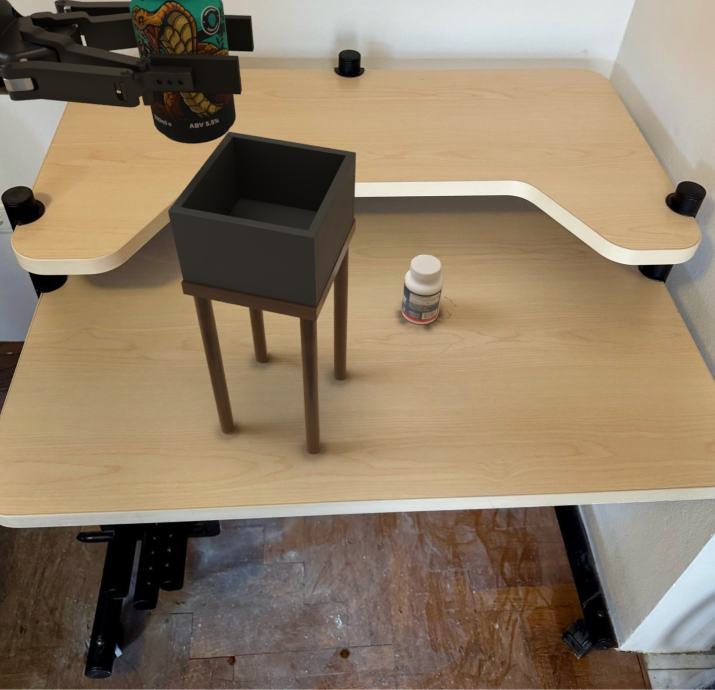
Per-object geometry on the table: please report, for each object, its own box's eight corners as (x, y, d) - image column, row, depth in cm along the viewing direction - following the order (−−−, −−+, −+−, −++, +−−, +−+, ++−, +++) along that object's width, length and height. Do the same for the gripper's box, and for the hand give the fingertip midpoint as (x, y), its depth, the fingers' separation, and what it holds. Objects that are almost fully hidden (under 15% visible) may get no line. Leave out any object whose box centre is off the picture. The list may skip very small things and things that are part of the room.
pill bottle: (406, 295, 96) (411, 247, 90) (441, 303, 95) (449, 255, 89) (397, 320, 93) (402, 272, 86) (434, 329, 92) (441, 280, 85)
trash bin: (316, 307, 60) (314, 237, 54) (182, 280, 62) (167, 210, 56) (354, 219, 69) (356, 152, 63) (236, 198, 70) (228, 131, 65)
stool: (320, 459, 77) (316, 309, 59) (214, 434, 79) (180, 282, 61) (351, 370, 86) (355, 218, 69) (256, 349, 88) (236, 196, 71)
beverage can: (164, 154, 56) (132, 1, 47) (148, 114, 60) (116, -32, 51) (246, 138, 58) (230, -11, 49) (225, 101, 62) (207, -42, 53)
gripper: (21, 39, 63) (263, 47, 64) (-76, 151, 50) (233, 161, 50) (-9, -49, 58) (257, -40, 58) (-127, 50, 44) (221, 62, 44)
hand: (245, 53), depth 54 cm, fingers closed on beverage can, 7 cm apart
